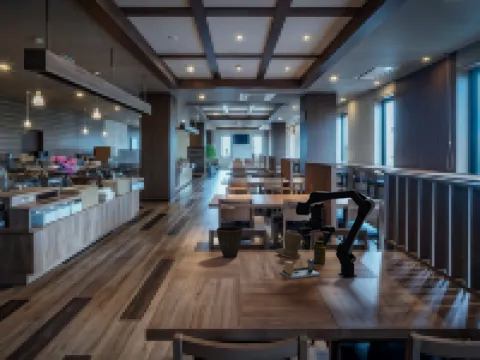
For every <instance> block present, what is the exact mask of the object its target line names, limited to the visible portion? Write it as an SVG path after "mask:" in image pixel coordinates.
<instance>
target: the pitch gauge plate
mask: <svg viewBox="0 0 480 360" xmlns="http://www.w3.org/2000/svg"><path fill="white" fill-rule="evenodd" d="M306 261H307V266H302V267H294V273H292V274H288V273H286V272H285V269H284V268H282V269H281V270H280V271H279V273H280V274H281V275H283V276H284V277H287V278H288V279H290V280H296V279H301V278H310V277H317V276H318V277H319V276H321V273H320V272H318V271H316V270H314V265H313V262H314V258H313V259H312V258H309V259H307V260H306Z"/></svg>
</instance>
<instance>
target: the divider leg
mask: <svg viewBox="0 0 480 360" xmlns="http://www.w3.org/2000/svg"><path fill="white" fill-rule="evenodd" d="M294 263H295V262H293V261H291V260H289V261H287V260H286V261H284V266H282V269H285V272H286V273H288V274H292V273H294V268H295V267H294V265H295V264H294Z"/></svg>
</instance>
